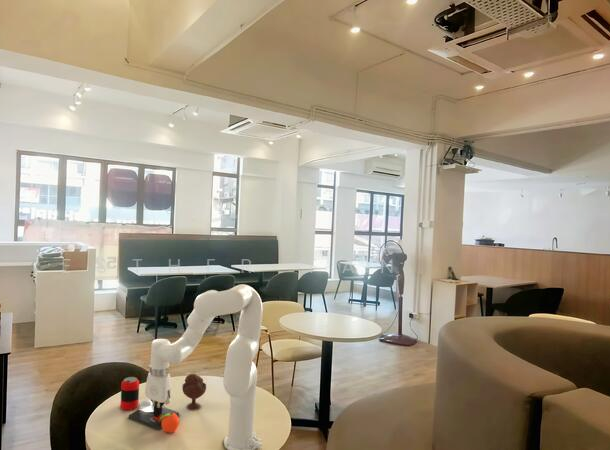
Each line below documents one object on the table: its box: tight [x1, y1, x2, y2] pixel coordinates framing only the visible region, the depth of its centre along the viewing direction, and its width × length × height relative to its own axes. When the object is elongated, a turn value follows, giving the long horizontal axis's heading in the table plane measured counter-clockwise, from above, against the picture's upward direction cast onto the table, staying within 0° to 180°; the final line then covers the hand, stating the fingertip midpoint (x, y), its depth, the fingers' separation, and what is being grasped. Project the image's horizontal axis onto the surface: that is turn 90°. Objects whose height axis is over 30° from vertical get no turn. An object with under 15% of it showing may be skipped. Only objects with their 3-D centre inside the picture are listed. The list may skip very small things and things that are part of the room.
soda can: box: [120, 376, 140, 411], centre depth 163 cm, size 8×8×12 cm
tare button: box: [154, 414, 162, 421], centre depth 149 cm, size 3×3×2 cm
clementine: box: [159, 413, 180, 433], centre depth 145 cm, size 8×7×7 cm
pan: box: [137, 399, 166, 414], centre depth 157 cm, size 11×11×1 cm
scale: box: [128, 406, 180, 431], centre depth 155 cm, size 16×14×3 cm
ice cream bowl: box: [181, 373, 207, 411], centre depth 165 cm, size 11×11×15 cm
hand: (157, 415), depth 149 cm, fingers closed
